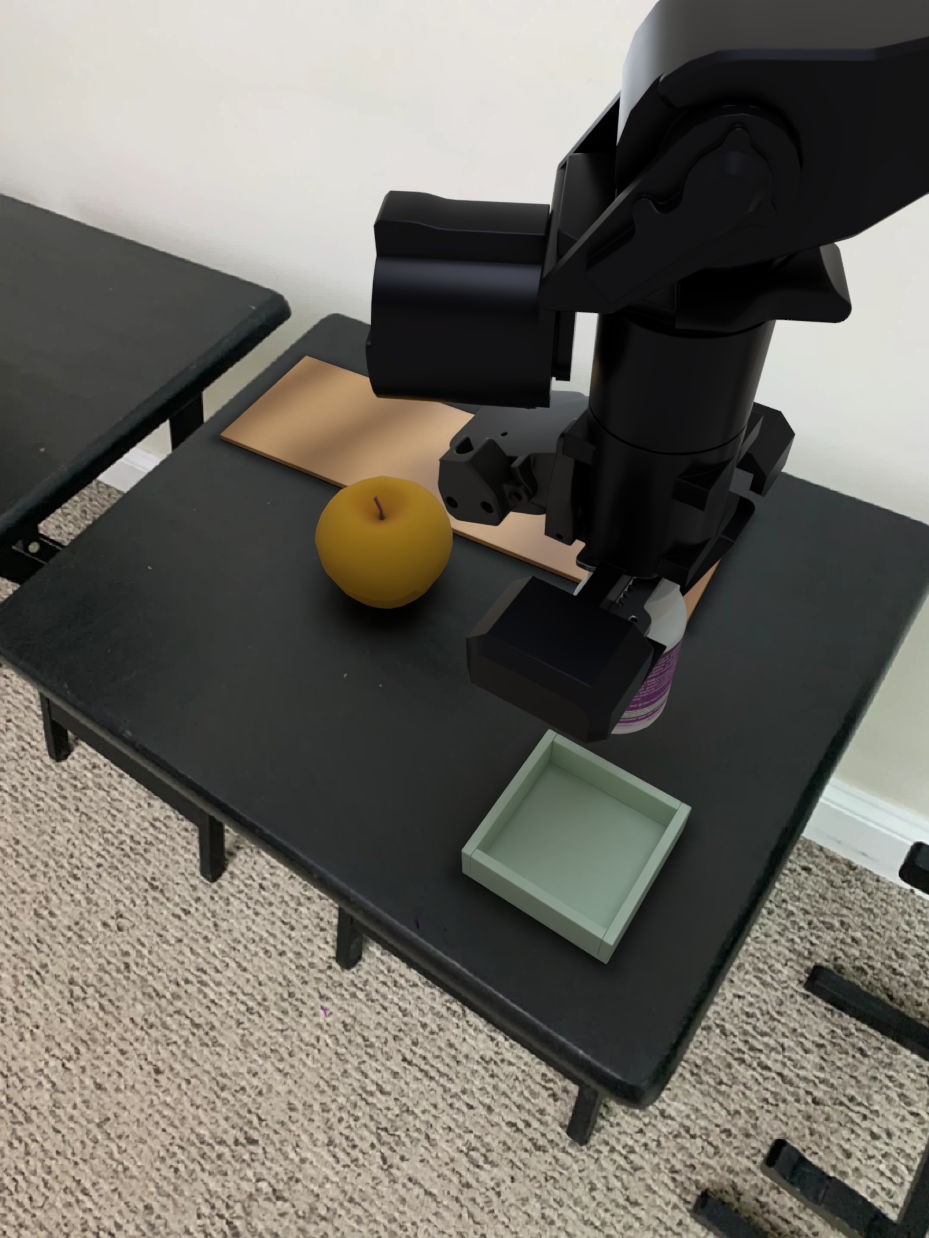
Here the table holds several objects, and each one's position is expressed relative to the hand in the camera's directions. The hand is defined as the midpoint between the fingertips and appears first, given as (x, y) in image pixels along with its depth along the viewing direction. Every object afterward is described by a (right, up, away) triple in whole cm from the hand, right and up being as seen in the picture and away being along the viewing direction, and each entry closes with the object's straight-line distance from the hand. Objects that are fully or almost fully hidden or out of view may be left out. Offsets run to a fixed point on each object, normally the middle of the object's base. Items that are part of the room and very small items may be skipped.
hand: (620, 657), depth 45 cm
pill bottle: (0, -2, +3) cm, 3 cm away
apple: (-13, +4, +20) cm, 24 cm away
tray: (-1, -11, +7) cm, 14 cm away
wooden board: (-7, +13, +27) cm, 31 cm away
